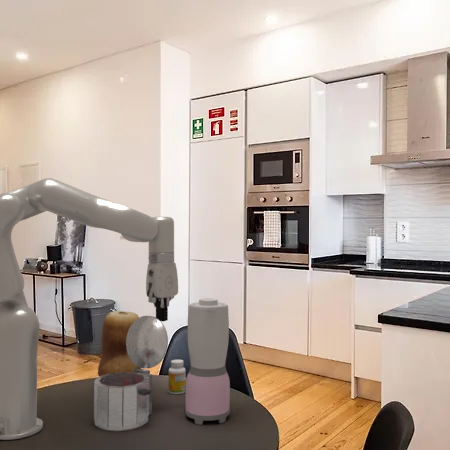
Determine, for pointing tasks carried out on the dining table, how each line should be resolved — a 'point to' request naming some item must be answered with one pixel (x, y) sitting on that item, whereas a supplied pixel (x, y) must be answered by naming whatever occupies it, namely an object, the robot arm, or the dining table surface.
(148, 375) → the pot
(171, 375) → the supplement bottle
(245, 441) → the dining table surface
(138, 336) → the lid
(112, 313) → the butternut squash
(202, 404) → the blender
